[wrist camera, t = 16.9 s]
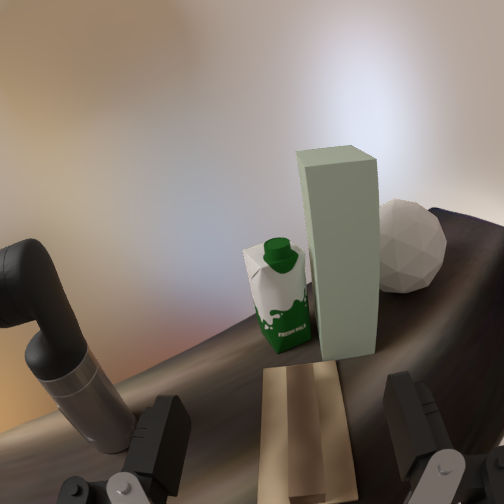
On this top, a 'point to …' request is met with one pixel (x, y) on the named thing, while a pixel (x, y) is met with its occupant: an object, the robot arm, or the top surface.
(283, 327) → the milk carton
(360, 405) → the top surface
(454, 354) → the top surface
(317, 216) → the sage stand
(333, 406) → the beige flat board
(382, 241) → the ball
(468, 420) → the top surface
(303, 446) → the walnut bar
